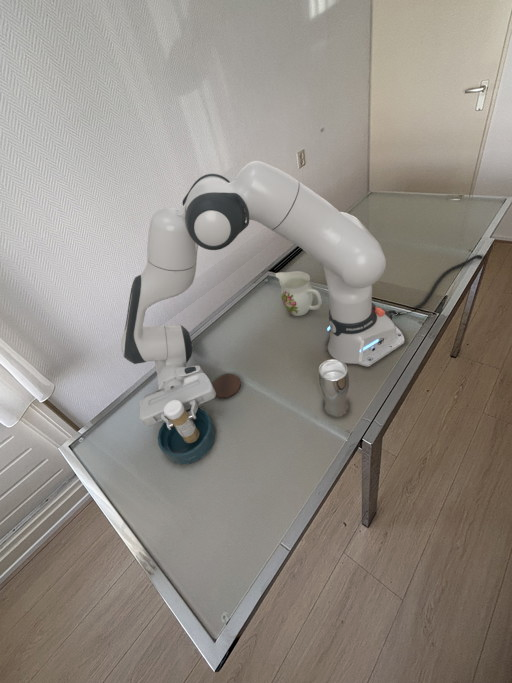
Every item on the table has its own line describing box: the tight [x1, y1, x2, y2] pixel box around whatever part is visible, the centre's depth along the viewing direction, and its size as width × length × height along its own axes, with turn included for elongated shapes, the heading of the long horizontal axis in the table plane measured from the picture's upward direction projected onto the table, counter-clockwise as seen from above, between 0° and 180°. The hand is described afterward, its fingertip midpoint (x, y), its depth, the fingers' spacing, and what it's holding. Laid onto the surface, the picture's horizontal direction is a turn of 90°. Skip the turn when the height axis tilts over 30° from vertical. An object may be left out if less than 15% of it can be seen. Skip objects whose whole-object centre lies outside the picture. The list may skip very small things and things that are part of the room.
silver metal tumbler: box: [318, 358, 350, 418], centre depth 79 cm, size 7×7×15 cm
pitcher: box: [274, 270, 323, 317], centre depth 112 cm, size 11×18×14 cm, turn 49°
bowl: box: [157, 407, 217, 466], centre depth 85 cm, size 14×14×5 cm
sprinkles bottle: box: [164, 400, 199, 443], centre depth 80 cm, size 5×5×14 cm
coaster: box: [212, 373, 242, 399], centre depth 97 cm, size 9×9×1 cm
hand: (182, 422), depth 79 cm, fingers closed on sprinkles bottle, 4 cm apart
